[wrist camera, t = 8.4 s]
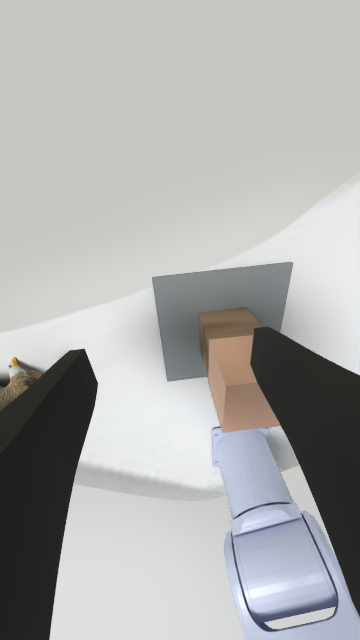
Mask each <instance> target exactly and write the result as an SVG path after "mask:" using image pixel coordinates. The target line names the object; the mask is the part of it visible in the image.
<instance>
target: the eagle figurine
mask: <svg viewBox="0 0 360 640" xmlns="http://www.w3.org/2000/svg"><path fill="white" fill-rule="evenodd" d="M8 370H9V376H10V383H9V385H8V386H6V387H1V386H0V411H1V410H3V409H4V408H5V407H6V406H7V405H8V404H10V403H11V402H12V401H13V400H14V399H16V398H17V397H18V396H19V395H20V394H22V393H23V392H24V391H25V390H26V389H27V388H29V387H30V386H31V385H32V384H33V383H34V382H33V381H32V380H31V379H30V378H29V377H36V378H40V377H41V376H42V375H43V374H44V373H41V372H38V371H36V370H31V371H28V372H26V373H24V372H23V371H22V370H21V368H20V366H19V365H18V364H17V361H16V358H13V359H12V362H11V364H10V365H9V366H8ZM28 376H29V377H28Z"/></svg>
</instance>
